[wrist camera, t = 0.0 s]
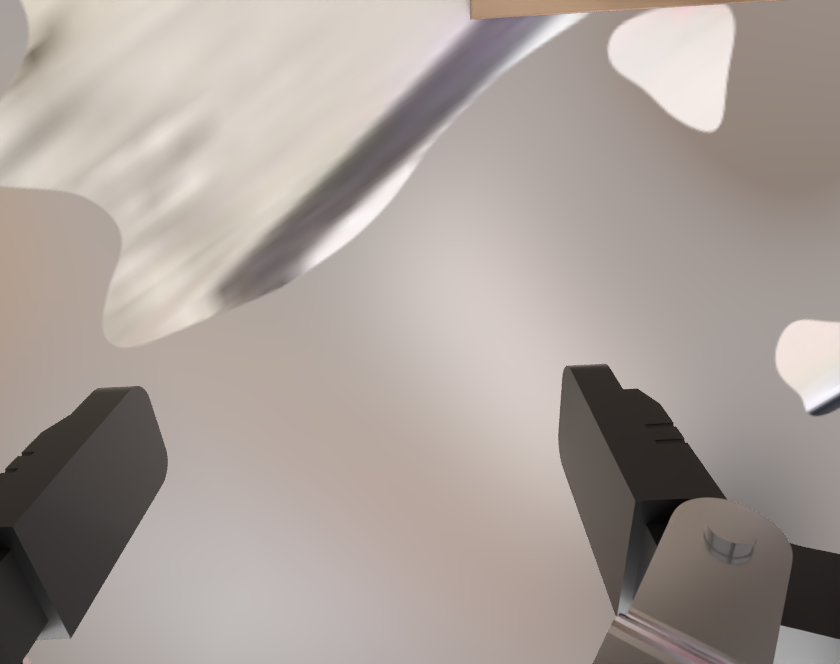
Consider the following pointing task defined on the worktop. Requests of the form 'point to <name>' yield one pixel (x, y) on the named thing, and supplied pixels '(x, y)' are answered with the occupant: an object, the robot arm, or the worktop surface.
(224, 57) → the worktop surface
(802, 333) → the worktop surface
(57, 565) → the robot arm
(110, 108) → the worktop surface
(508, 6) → the board
